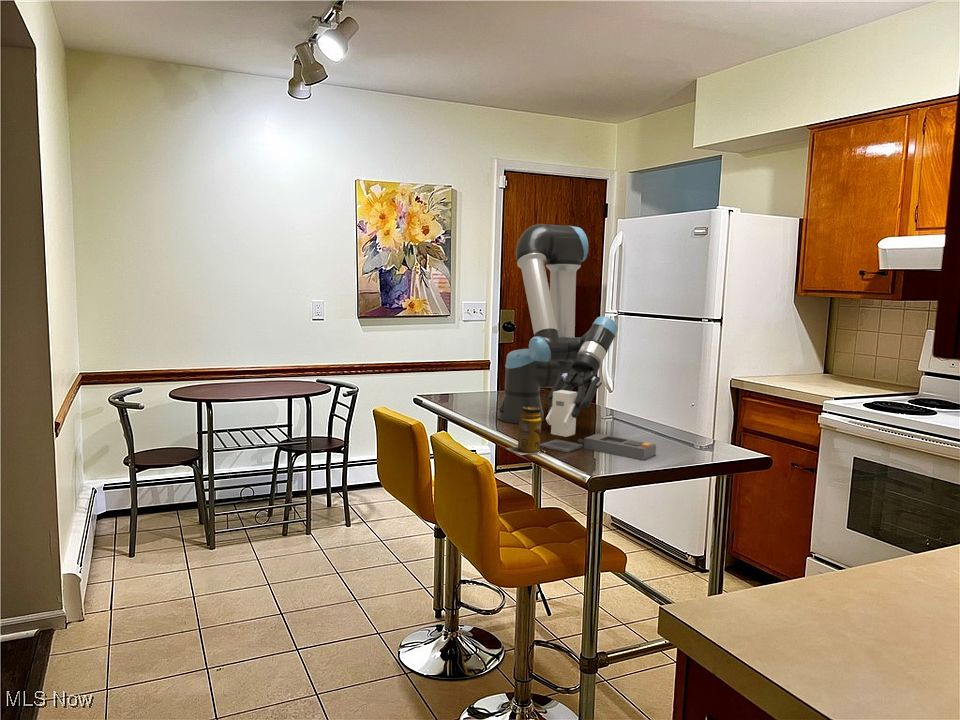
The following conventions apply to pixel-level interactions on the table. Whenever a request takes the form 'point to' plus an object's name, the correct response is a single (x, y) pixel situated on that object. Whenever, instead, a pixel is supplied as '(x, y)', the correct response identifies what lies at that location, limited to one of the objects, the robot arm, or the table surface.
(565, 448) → the mat
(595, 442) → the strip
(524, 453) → the condiment
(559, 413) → the block
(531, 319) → the robot arm
